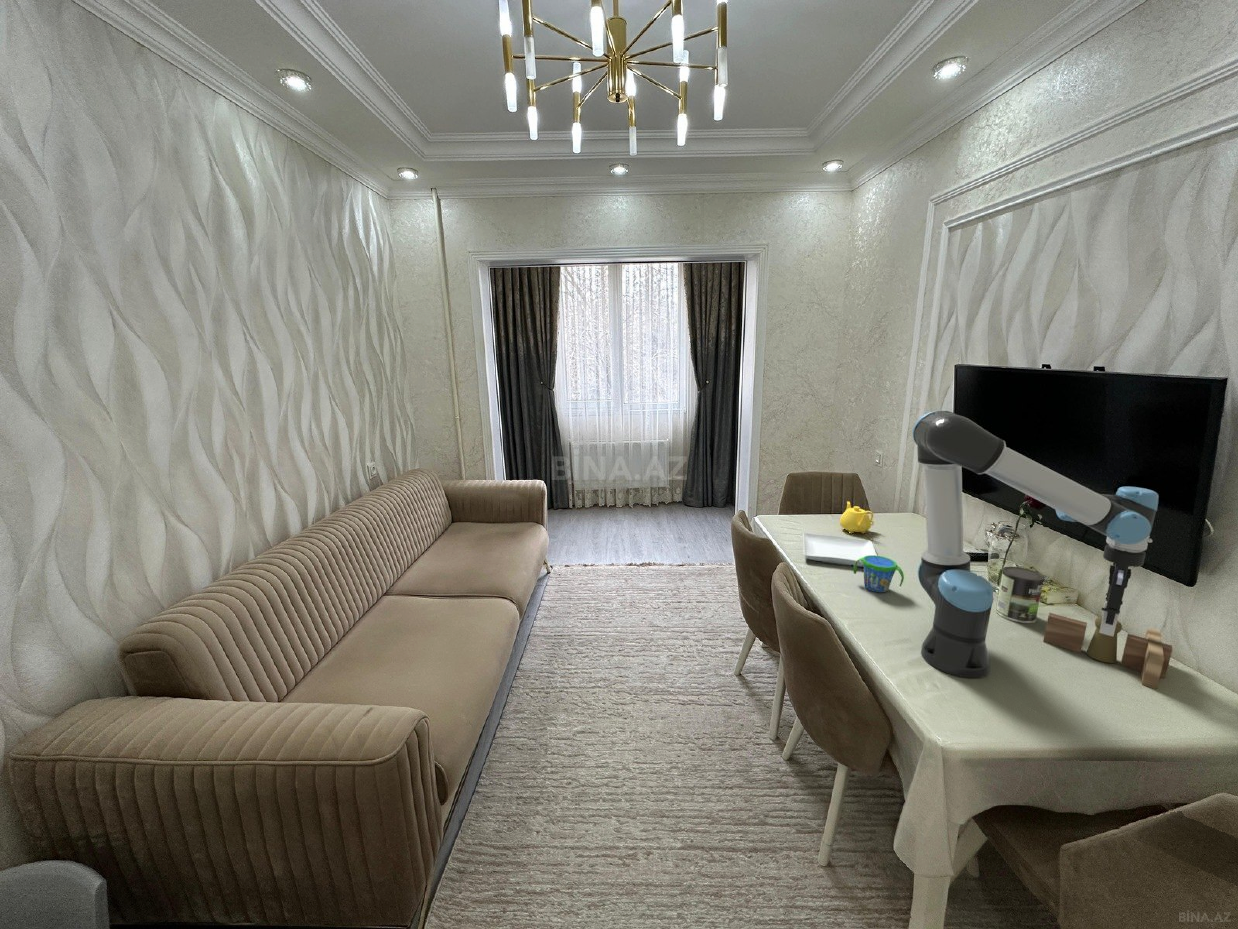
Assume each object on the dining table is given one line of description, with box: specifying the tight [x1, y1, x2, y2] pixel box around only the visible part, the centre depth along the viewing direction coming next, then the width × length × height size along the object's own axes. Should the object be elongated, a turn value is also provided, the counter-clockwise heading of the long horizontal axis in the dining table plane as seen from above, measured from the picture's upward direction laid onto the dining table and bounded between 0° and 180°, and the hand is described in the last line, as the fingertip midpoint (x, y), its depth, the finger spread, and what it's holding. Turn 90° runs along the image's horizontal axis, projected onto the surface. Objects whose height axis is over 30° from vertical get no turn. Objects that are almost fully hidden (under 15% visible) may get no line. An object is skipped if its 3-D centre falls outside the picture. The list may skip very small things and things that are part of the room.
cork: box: [1085, 615, 1123, 664], centre depth 138 cm, size 6×6×11 cm
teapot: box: [839, 501, 875, 534], centre depth 235 cm, size 20×15×12 cm
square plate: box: [802, 532, 878, 568], centre depth 208 cm, size 27×27×4 cm
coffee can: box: [995, 566, 1045, 624], centre depth 160 cm, size 10×10×14 cm
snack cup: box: [852, 555, 905, 594], centre depth 177 cm, size 16×10×10 cm
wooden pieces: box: [1043, 612, 1173, 690], centre depth 138 cm, size 18×24×8 cm
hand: (1106, 629), depth 137 cm, fingers closed on cork, 5 cm apart
